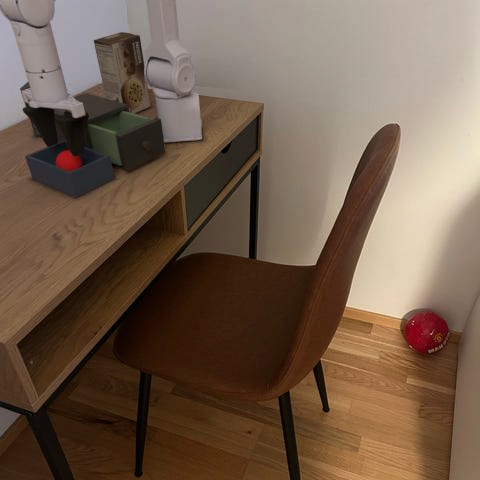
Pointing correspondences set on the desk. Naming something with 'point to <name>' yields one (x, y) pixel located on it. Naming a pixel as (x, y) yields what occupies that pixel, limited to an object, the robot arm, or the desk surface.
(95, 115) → the cabinet
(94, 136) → the drawer
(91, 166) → the box
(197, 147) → the desk surface
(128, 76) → the coffee box
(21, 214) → the desk surface
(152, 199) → the desk surface
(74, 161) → the ball
